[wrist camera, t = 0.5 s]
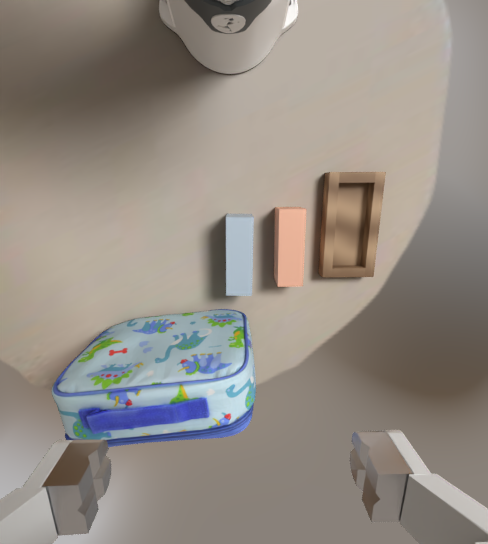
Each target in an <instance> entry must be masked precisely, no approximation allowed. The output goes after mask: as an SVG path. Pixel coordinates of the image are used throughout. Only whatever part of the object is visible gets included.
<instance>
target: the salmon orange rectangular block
mask: <svg viewBox="0 0 488 544" xmlns="http://www.w3.org/2000/svg"><path fill="white" fill-rule="evenodd" d="M305 228H306V209H305V208H301V207H275V242H274V279H275V282H276V284H277V286H278V287H289V286H303V272H304V250H305Z"/></svg>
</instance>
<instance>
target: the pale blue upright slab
mask: <svg viewBox="0 0 488 544" xmlns="http://www.w3.org/2000/svg"><path fill="white" fill-rule="evenodd" d="M253 223H254V217H253V216H252V214H227V215H226V296H252V270H253Z"/></svg>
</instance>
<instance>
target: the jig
mask: <svg viewBox="0 0 488 544" xmlns="http://www.w3.org/2000/svg"><path fill="white" fill-rule="evenodd" d="M385 174H386V172H329V173H325V178H324V193H323V209H322V224H321V239H320V255H319V270H318V273H319V274H320V275H321V276H322V277H373V275H374V267H375V259H376V250H377V242H378V233H379V225H380V216H381V208H382V199H383V191H384V182H385Z"/></svg>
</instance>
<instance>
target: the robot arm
mask: <svg viewBox="0 0 488 544" xmlns="http://www.w3.org/2000/svg"><path fill="white" fill-rule="evenodd" d="M289 3H290V6H289ZM159 14H160V18H161V20H162V21H163V23H164V24H165V25H166V26H168V27H169V28H170V29H171V30H173V31H174V32H176V33H177V34H178V35H179V36H180V38H181V39H182V40H183V42H184V44H185V45H186V47H187V49H188V50H189V52H190V53H191V54H192V55H193V56H194V57H195V59H197V60H198V61H199V62H200V63H201V64H202V65H204V66H205V67H207V68H209V69H211V70H213V71H216V72H220V73H225V74H235V73H241V72H244V71H247V70H249V69H251V68H253V67H255V66H256V65H258V64H259V63H260V62H261V61H262V60H263V59H264V58H265V57H266V56H267V55H268V54H269V52H270V51H271V49H272V48H273V46H274V44H275V42H276V41H277V39H278V38H279V36H280V35H281V34H283V33H284V32H285V31H287V30H288V29H289V28H290V27H292V26H293V25H294V23H295V22H296V20H297V16H298V5H297V0H160V2H159ZM352 443H353V445H354V449H353V450H352V451H351V452H350V466H351V472H352V475H353V479H354V481H355V484H356V486H358V487H359V488H360V489H361V490H362V491H363V495H362V501H363V503H364V506H365V508H366V510H367V513H368V515H369V518H370V520H371V522H400V524H401V525H402V526H403V527H404V528H405V529H406V531H407V532H408V533H409V534H410V535H411V536H412V537H413V538H414V539H415V540H416V541H417V542H418V543H419V544H488V509H487V508H486V507H484V506H483V505H481V504H480V503H478V502H477V501H476V500H474V499H472V498H471V497H469V496H468V495H467V494H465V493H464V492H462V491H461V490H459V489H457V488H456V487H455V486H453V485H452V484H450V483H449V482H447V481H446V480H444V479H443V478H442V477H440V476H439V475H437V474H431V473H430V471H429V470H428V468H427V467H426V466H425V464H424V463H423V461H422V460H421V458H420V457H419V456H418V454H417V453H416V451H415V450H414V448H413V447H412V446H411V444H410V443H409V442H408V440H407V438H406V437H405V436H404V434H403V433H402V432H401V431H400V430H384V431H360V432H354V433H353V435H352ZM108 449H109V448H108V443H107V440H58V441H56V442H55V443H54V444H53V445H52V446H51V448H50V449H49V451H48V452H47V453H46V455H45V456H44V457H43V459H42V460H41V462H40V463H39V464H38V466H37V467H36V469H35V470H34V471H33V473H32V474H31V476H30V477H29V478H28V480H27V481H26V483H25V484H24V485H23V487H22V488H17V489H15V490H14V491H12V492H11V493H9V494H8V495H7V496H5V497H4V498H2V499H1V500H0V544H52V543H53V542H54V541H55V540H56V539H57V538H58V535H72V534H86V533H89V530H90V528H91V526H92V523H93V521H94V519H95V516H96V514H97V511H98V504H97V501H98V500H99V499H100V498H101V497H102V496H103V495H104V494H105V493H106V490H107V488H108V485H109V481H110V476H111V461H110V459H109V458H108V457H107V456H106V453H107V451H108Z"/></svg>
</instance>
